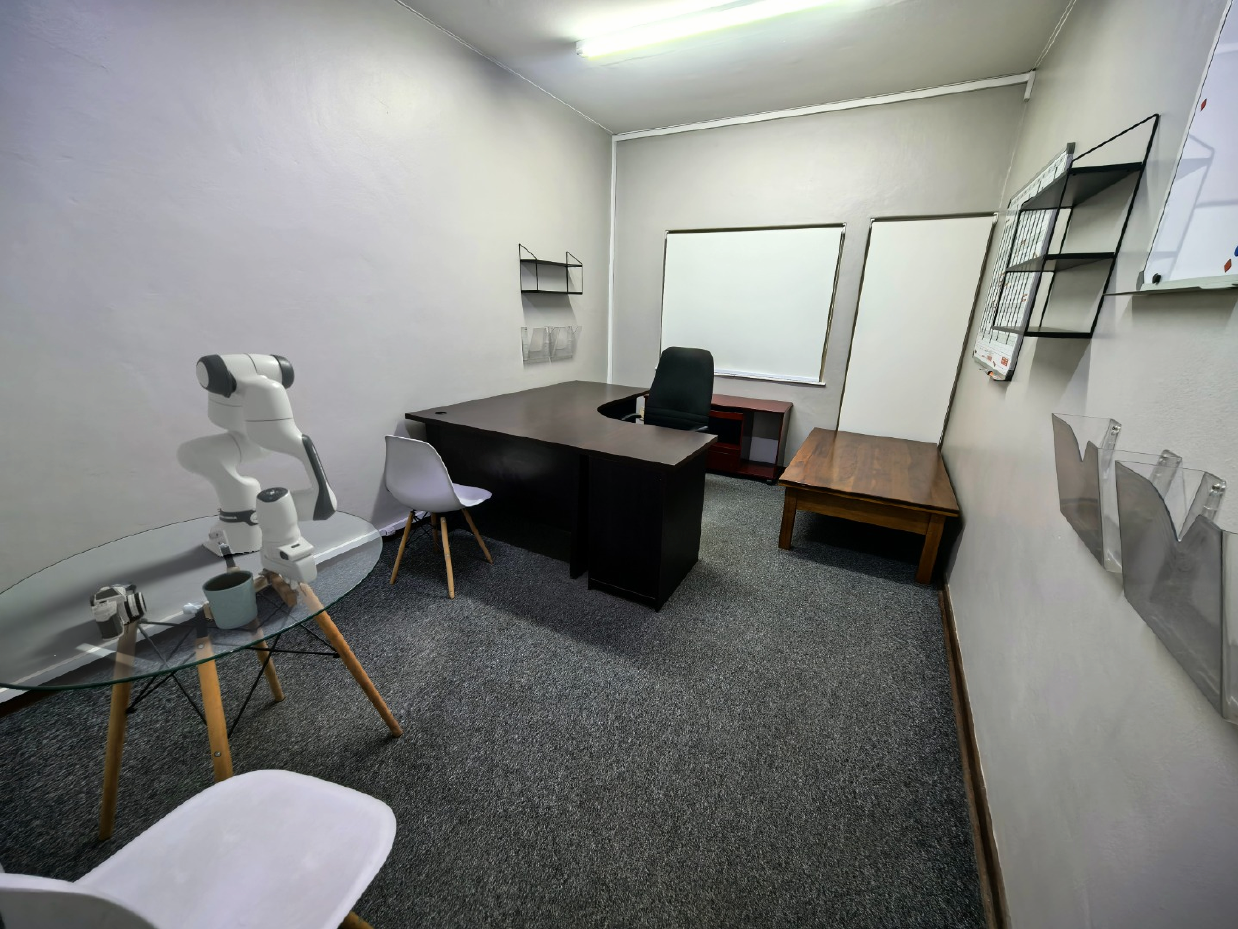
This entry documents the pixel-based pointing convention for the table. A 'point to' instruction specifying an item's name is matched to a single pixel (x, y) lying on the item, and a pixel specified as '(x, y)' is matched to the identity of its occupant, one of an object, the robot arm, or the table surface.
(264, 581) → the base
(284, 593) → the tongs jaw
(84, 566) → the table surface
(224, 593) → the green ceramic pot
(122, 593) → the camera
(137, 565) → the table surface
